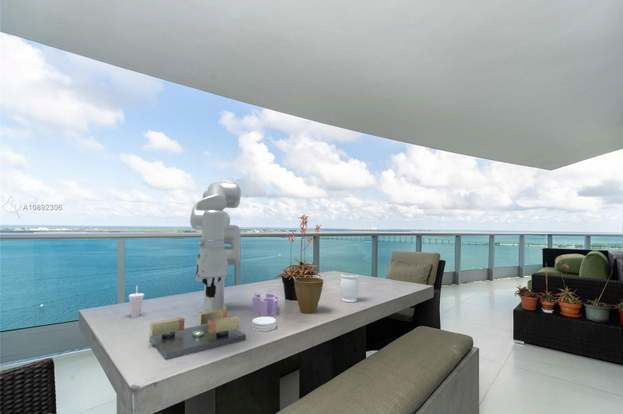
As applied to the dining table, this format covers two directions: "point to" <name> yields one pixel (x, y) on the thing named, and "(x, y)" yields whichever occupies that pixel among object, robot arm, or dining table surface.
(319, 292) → the plant pot
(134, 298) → the smoothie
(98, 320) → the dining table surface
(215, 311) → the beige rectangular block
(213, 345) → the plate
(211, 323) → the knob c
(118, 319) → the dining table surface
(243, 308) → the dining table surface
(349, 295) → the jar
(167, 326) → the olive and orange block
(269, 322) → the white round disc
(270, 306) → the lavender lobed block
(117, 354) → the dining table surface
